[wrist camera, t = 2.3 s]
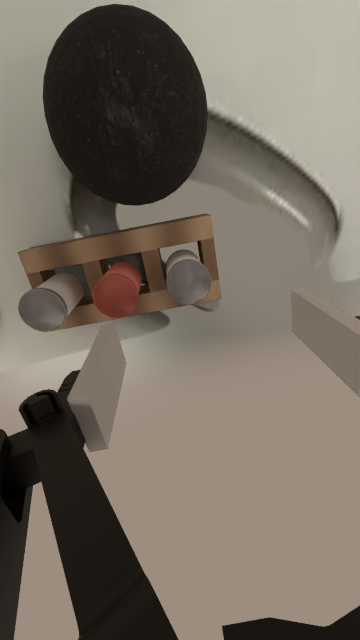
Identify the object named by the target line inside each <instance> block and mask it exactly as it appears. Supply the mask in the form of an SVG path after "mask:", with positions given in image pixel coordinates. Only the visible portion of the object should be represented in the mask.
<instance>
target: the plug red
mask: <svg viewBox="0 0 360 640" xmlns="http://www.w3.org/2000/svg"><path fill="white" fill-rule="evenodd" d="M141 282H142V277H141V273H140V271H139V269H138V268H137V267H136V266H135V265H134V264H132V263H130V262H126V261H121V262H117V263H115V264H113V265H112V266H111V267H110V268H109V270H108V271H107V272H106V273H105V275H104V276H103V277H102V278H101V279H100V280H99V281H98V282H97V283H96V284H95V286H94V288H93V292H92V298H93V302H94V305H95V306H96V308H97V309H98V310H99V311H100V312H101V313H102V314H104V315H106V316H108V317H111V318H122V317H125V316H128V315H129V314H131V313H132V312H133V311H134V309H135V308H136V306H137V303H138V298H139V295H138V294H139V290H140V286H141Z"/></svg>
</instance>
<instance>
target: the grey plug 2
mask: <svg viewBox="0 0 360 640" xmlns="http://www.w3.org/2000/svg"><path fill="white" fill-rule="evenodd" d="M166 274H167V278H166V286H167V290H168V293H169V294H170V296H171V297H172V298H173V299H174V300H175V301H177V302H179V303H181V304H186V305H190V304H195V303H198V302H200V301H201V300H203V299H204V298H205V297H206V296H207V294H208V293H209V291H210V288H211V276H210V273H209V271H208V270H207V268H206V267H205V266H204V265H203V264H202V263H201V261H200V260H199V259H198V257H197V256H196V255H195V254H194V253H193V252H191V251H189V250H179V251H176V252H174V253H173V254H172V255H171V256H170V257H169V258H168V260H167V263H166Z"/></svg>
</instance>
